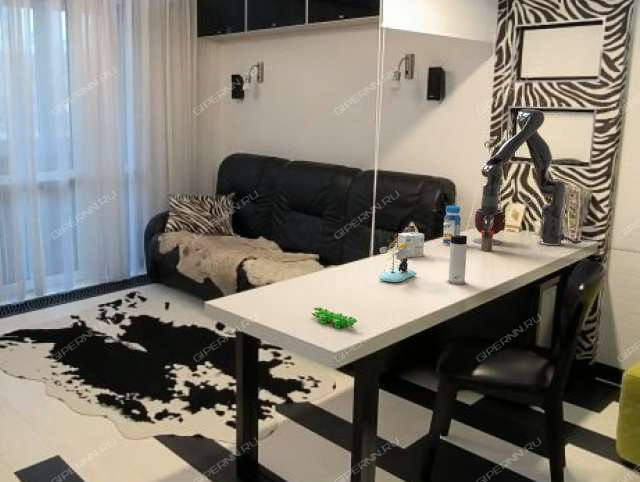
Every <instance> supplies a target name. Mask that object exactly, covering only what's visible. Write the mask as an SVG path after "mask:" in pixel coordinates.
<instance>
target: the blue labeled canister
mask: <svg viewBox="0 0 640 482" xmlns="http://www.w3.org/2000/svg"><path fill="white" fill-rule="evenodd" d="M460 211H461V207H460V206H459V205H446V206H445V213H446V214H445V216H444V217H443V221H444V222H443V236H442V237H443V238H442V244H443V245H445V246H449V247H450V244H451V243H450V242H451V236H457V235H461V226H462V225H461V221H462V219H461V216H460Z"/></svg>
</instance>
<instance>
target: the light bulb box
mask: <svg viewBox="0 0 640 482" xmlns="http://www.w3.org/2000/svg"><path fill="white" fill-rule="evenodd" d="M397 237H398V238H397V239H398V240H397V246H398V245H400V244H402V243H403V244H404V243H406V244H407V245H406V247H407V249H409V252H410V253H411V254H410V255H408V256H407V257H408V258H413V257H415V258H416V257H424V253H425V252H424V251H425V250H424V249H425V233H421V232H418V231H413V232H412V231H411V232H402V233H398V236H397ZM398 251H399V250H398V249H397V252H398Z"/></svg>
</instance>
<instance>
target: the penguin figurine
mask: <svg viewBox="0 0 640 482" xmlns="http://www.w3.org/2000/svg"><path fill="white" fill-rule="evenodd" d="M406 245H407V244H406V243H404V244H403V243H402V244H400V245H398V244H397V246H396V247H397V248H396V249H397V251H396V252H395V250H393V251H392V252H393V253H392V257H390V258H388V259H387V260H388V261H389V260H392V262H391V264H392V265H391V266H392V267H389V270H388V271H387V270H385V269H384V270H383V272H382V273H380V274H379V277H378V278H379V280H381V281H384V282H388V283H390V282H391V283H398V282H399V283H400V282H403V281H404V280H406V279H408V278H411V277H414V276H416V275H417V272H416V271H415V270H412V269H411V268H408V266H409V263H408V262H409V261H410V260H409V259H408V258H409V257H407V256H408V255H410V254H411V253H410V252H409V249H407V247H406ZM387 249H388V248H387V246H382V247H380V248H379V252H380V255H383V254H386V253H388V250H387ZM398 250H399V251H398ZM395 259H396V260H397V261H395ZM398 261H400V263H399V264H398V265H396V268H394V267H395V263H398ZM384 267H387V264H385V266H384Z"/></svg>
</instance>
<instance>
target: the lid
mask: <svg viewBox="0 0 640 482" xmlns="http://www.w3.org/2000/svg"><path fill="white" fill-rule="evenodd" d="M480 234H481V235H482V234H483V235H484V231H483V230H482V231H481V233H480ZM489 235H493V236H494V235H495V234H494V231H492V230H490V231H489Z"/></svg>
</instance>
